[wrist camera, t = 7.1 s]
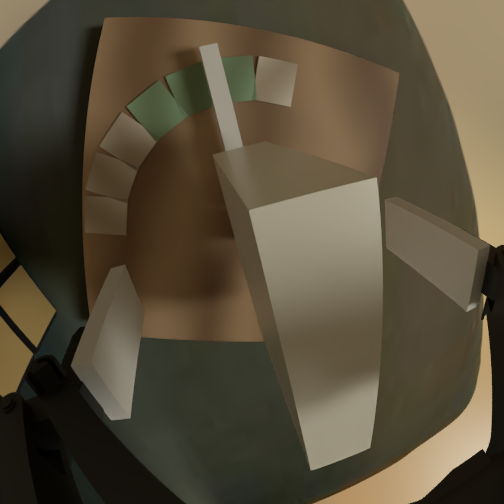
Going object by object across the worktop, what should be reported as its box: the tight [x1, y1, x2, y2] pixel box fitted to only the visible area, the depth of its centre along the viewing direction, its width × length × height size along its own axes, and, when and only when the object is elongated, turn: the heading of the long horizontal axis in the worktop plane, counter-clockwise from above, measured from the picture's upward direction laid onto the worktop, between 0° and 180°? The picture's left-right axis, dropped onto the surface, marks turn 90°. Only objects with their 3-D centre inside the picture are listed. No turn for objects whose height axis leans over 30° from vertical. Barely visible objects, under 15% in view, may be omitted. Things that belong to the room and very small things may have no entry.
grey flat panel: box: [199, 43, 383, 470], centre depth 12 cm, size 15×2×12 cm, turn 13°
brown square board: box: [82, 17, 399, 341], centre depth 18 cm, size 18×20×2 cm
